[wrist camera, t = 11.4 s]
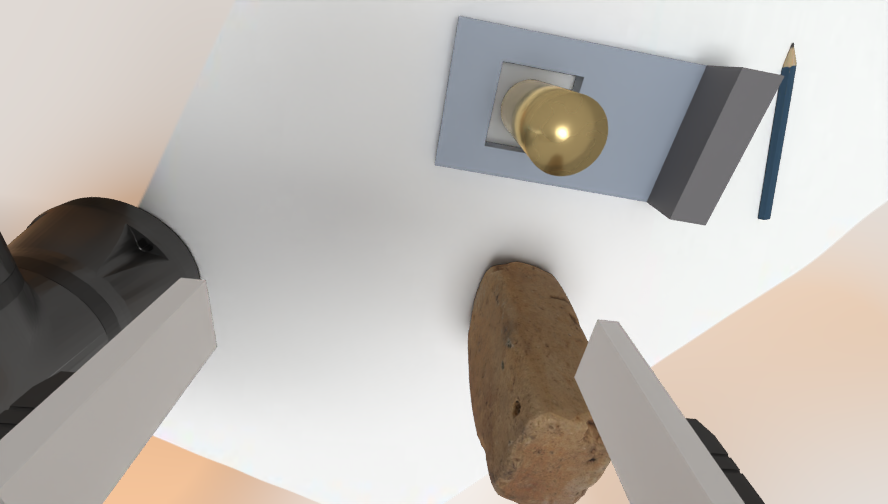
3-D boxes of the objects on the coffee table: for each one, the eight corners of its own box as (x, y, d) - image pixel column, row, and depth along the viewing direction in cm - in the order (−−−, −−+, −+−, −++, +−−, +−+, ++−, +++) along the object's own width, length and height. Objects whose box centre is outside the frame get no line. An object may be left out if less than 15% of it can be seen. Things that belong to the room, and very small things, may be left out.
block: (494, 246, 38) (533, 412, 21) (561, 267, 39) (654, 443, 22) (457, 327, 43) (463, 519, 25) (518, 344, 44) (565, 540, 26)
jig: (435, 159, 34) (433, 178, 29) (458, 18, 29) (460, 10, 24) (667, 199, 36) (705, 225, 31) (726, 72, 31) (784, 76, 26)
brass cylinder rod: (495, 132, 33) (516, 169, 23) (508, 74, 31) (538, 85, 20) (546, 141, 34) (591, 182, 23) (562, 84, 31) (620, 101, 21)
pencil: (755, 216, 37) (782, 44, 30) (766, 214, 37) (796, 40, 30) (761, 220, 36) (790, 44, 29) (772, 218, 36) (804, 40, 29)
